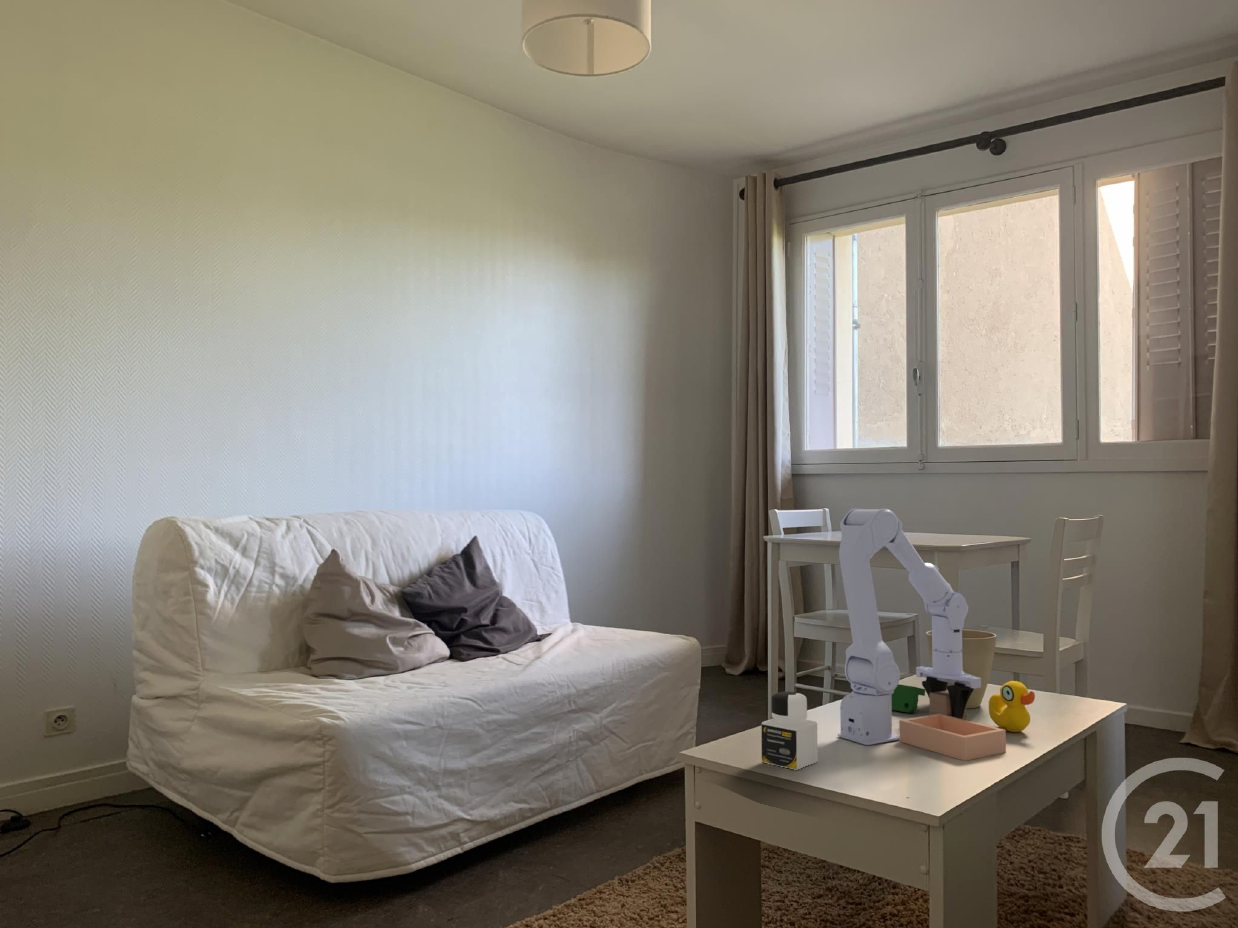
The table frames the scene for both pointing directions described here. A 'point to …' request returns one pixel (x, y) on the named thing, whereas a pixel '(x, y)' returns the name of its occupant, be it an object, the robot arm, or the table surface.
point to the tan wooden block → (942, 704)
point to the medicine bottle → (789, 733)
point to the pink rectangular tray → (953, 736)
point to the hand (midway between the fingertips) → (948, 718)
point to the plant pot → (974, 659)
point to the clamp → (906, 698)
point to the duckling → (1011, 706)
